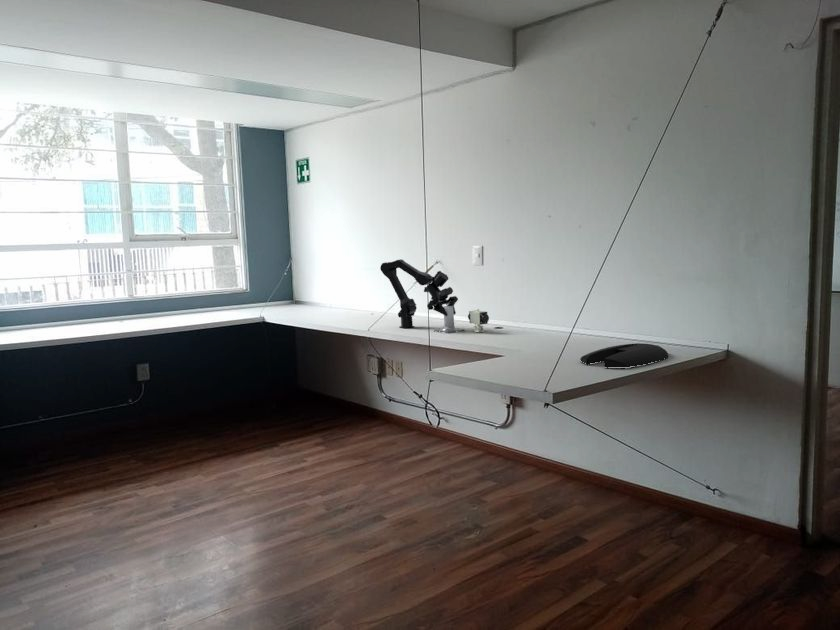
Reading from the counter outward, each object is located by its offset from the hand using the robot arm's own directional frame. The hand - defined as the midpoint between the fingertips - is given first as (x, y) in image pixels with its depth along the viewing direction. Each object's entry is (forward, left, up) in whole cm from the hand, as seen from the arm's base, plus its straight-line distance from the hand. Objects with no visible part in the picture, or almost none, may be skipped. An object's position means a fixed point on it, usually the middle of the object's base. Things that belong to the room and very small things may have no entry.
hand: (451, 314), depth 358 cm
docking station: (+110, -3, -9) cm, 111 cm away
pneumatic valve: (+14, +7, -9) cm, 18 cm away
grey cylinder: (-1, 0, -8) cm, 8 cm away
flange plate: (-2, 0, -9) cm, 9 cm away
